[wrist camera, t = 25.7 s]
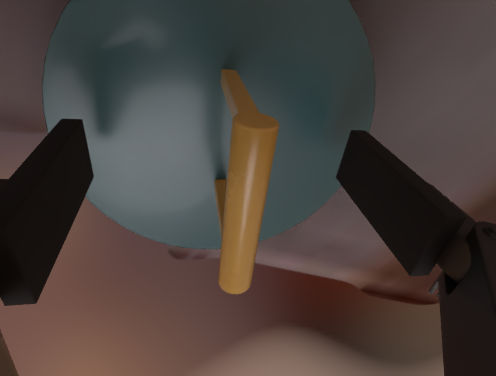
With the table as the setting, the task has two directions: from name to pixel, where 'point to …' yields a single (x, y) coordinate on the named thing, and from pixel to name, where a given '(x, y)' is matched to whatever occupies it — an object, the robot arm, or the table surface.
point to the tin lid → (211, 114)
